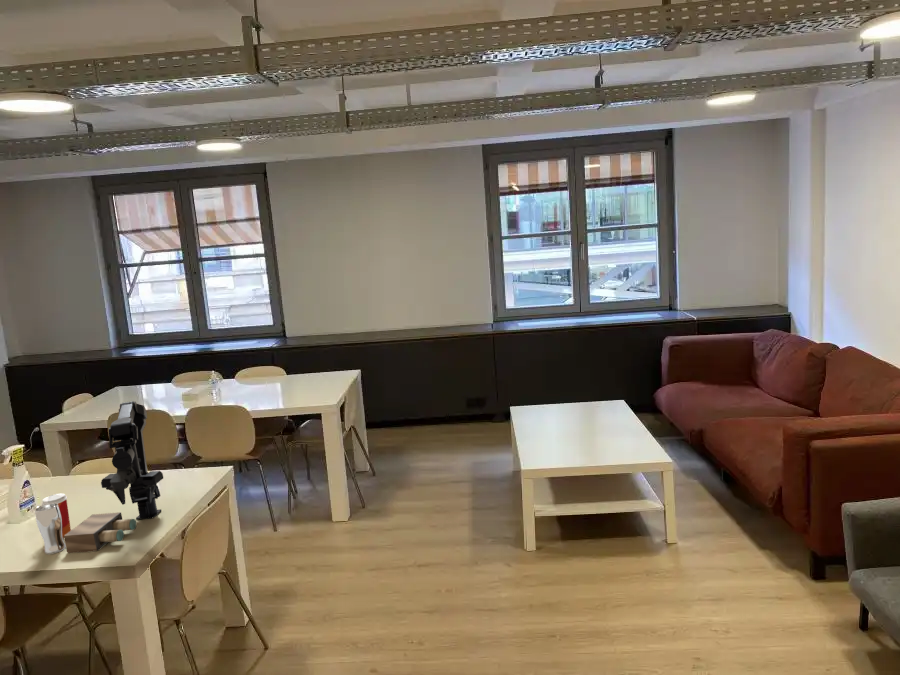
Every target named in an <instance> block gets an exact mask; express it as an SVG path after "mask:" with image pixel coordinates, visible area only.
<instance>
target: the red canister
mask: <svg viewBox="0 0 900 675" xmlns="http://www.w3.org/2000/svg"><path fill="white" fill-rule="evenodd" d="M67 499H68V496H67V495H66V494H65V493H63V492H62V493H61V492H60V493H54V494H51V495H49V496H46V497H44V498H42V501H41V506H42V505H45V504H49V503H57V504H58V507H59V510H60V513H61V518H62V537H63V539H64V535H65V534H67V533H68V532H69V531H71V530H72V529H71V522H70V521H71V520H70V515H69V509H68V508H69V507H68V500H67Z"/></svg>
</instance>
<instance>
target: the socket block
mask: <svg viewBox="0 0 900 675" xmlns="http://www.w3.org/2000/svg"><path fill="white" fill-rule="evenodd" d="M114 520H123V514H122V511H119V512H106V513H94V514H91V515H90V516H88V517H87V518H86V519H84V520H83V521H82V522H80V523H79V524H78V525H76V526H75V527H74V528H72V529H71V531H69V532H68V533H67V534H65V535H64V538H63V540H64V543H65V545H66V548H65V549H66V553H67V554H74V553H89V552H99V550H101V549H102V548H103V547H104V546H105V545H107V544H108V543H109V542H100V541H99V536H98V533H99V532H100V531H108V530H113V527H112V522H113V521H114Z"/></svg>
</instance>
